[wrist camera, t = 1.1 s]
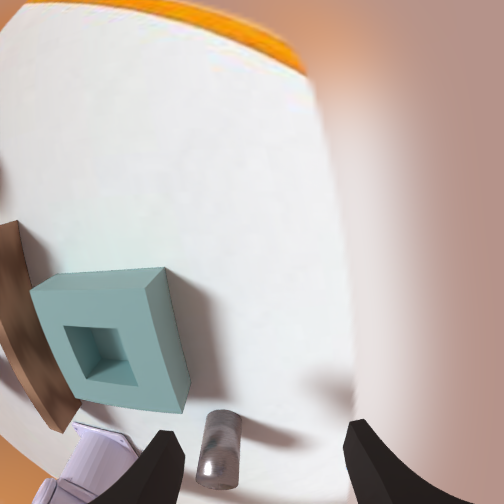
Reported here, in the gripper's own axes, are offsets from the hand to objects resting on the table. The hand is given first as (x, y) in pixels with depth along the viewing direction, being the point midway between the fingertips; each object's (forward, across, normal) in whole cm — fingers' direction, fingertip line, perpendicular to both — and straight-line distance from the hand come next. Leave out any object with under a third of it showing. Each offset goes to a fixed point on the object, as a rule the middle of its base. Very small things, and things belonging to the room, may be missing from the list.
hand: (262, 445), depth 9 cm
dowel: (+10, +4, +10) cm, 15 cm away
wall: (+10, +21, 0) cm, 23 cm away
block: (+10, +11, 0) cm, 15 cm away
